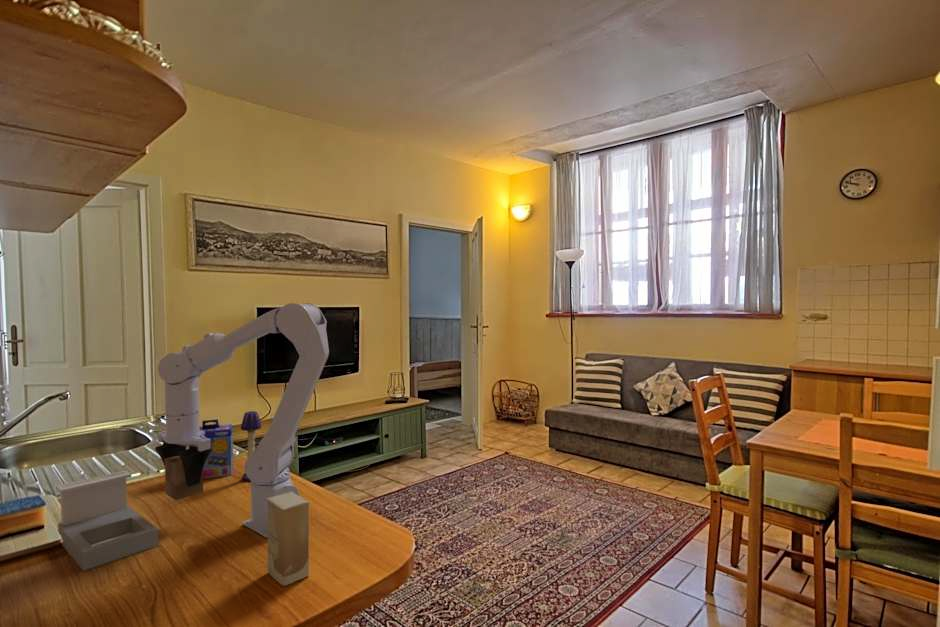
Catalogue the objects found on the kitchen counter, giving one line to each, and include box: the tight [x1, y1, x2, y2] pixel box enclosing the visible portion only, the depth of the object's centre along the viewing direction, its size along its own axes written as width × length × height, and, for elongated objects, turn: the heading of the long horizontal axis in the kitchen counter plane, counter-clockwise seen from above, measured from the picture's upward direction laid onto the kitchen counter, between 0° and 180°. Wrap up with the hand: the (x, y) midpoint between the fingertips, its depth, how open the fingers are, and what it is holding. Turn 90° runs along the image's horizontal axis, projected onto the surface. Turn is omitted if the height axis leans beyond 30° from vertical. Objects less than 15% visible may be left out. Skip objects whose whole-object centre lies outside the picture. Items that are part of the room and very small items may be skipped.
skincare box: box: [267, 492, 310, 587], centre depth 80 cm, size 6×4×12 cm
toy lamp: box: [240, 410, 262, 482], centre depth 125 cm, size 5×5×17 cm
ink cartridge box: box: [187, 419, 234, 480], centre depth 128 cm, size 10×6×14 cm, turn 113°
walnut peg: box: [164, 456, 204, 501], centre depth 99 cm, size 5×5×7 cm
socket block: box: [55, 470, 160, 571], centre depth 92 cm, size 18×11×10 cm, turn 50°
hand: (184, 481), depth 99 cm, fingers closed on walnut peg, 6 cm apart
